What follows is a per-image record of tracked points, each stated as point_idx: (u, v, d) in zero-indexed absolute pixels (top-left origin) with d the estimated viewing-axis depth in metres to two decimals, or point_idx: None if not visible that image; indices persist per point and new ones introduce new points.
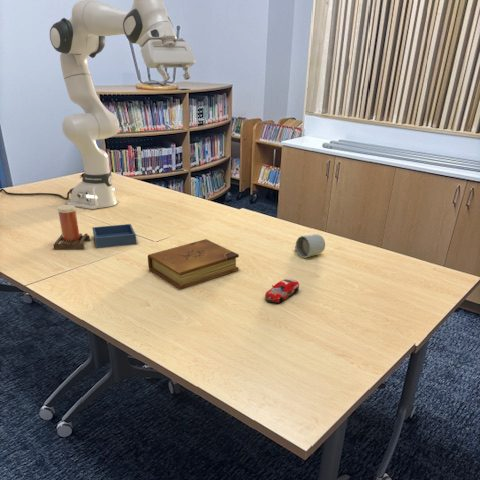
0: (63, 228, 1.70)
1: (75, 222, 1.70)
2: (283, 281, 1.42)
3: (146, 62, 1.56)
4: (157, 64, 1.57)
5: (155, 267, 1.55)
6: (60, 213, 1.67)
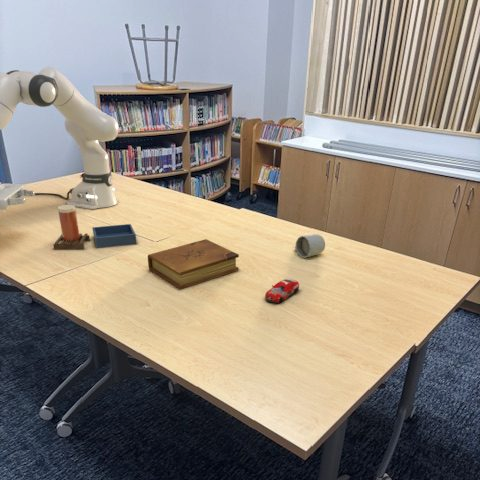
0: (63, 228, 1.70)
1: (75, 222, 1.70)
2: (283, 281, 1.42)
3: None
4: None
5: (155, 267, 1.55)
6: (60, 213, 1.67)
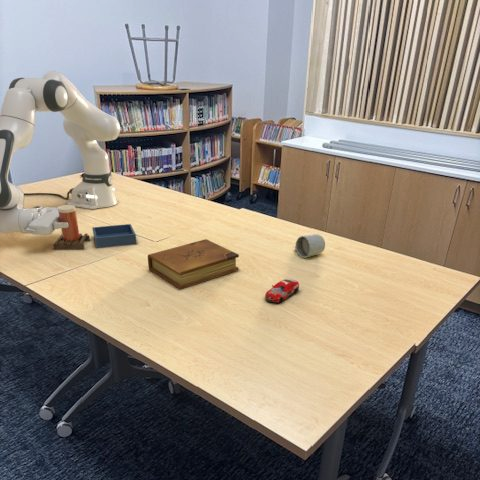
0: (63, 228, 1.70)
1: (75, 222, 1.70)
2: (283, 281, 1.42)
3: None
4: None
5: (155, 267, 1.55)
6: (60, 213, 1.67)
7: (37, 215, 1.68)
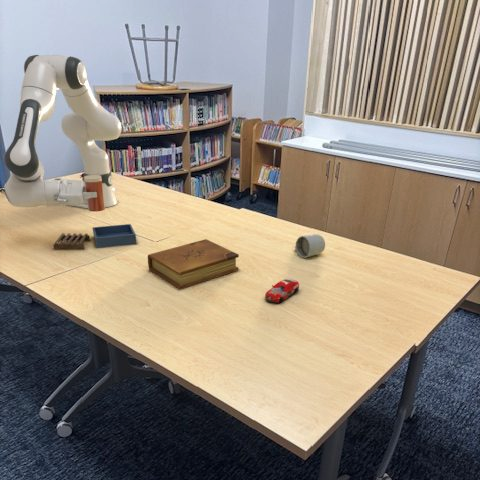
0: (90, 198, 1.67)
1: (102, 192, 1.69)
2: (283, 281, 1.42)
3: None
4: None
5: (155, 267, 1.55)
6: (88, 183, 1.65)
7: (63, 186, 1.64)
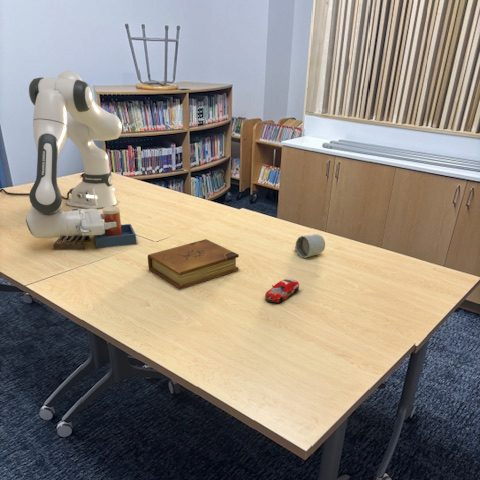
0: (109, 229, 1.75)
1: (120, 222, 1.76)
2: (283, 281, 1.42)
3: None
4: None
5: (155, 267, 1.55)
6: (107, 215, 1.72)
7: (83, 216, 1.71)
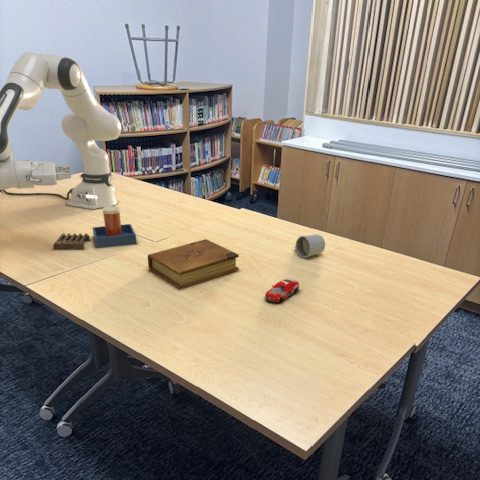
0: (109, 229, 1.75)
1: (120, 222, 1.76)
2: (283, 281, 1.42)
3: None
4: None
5: (155, 267, 1.55)
6: (107, 215, 1.72)
7: (34, 166, 1.58)
